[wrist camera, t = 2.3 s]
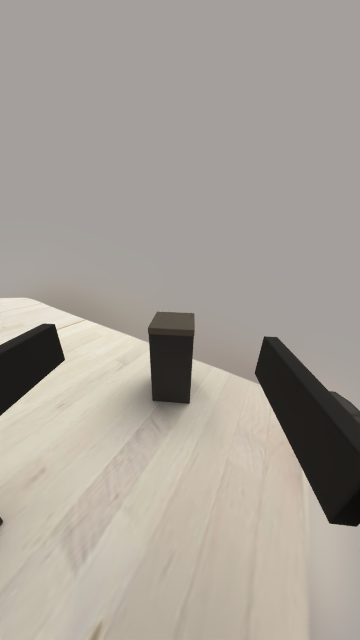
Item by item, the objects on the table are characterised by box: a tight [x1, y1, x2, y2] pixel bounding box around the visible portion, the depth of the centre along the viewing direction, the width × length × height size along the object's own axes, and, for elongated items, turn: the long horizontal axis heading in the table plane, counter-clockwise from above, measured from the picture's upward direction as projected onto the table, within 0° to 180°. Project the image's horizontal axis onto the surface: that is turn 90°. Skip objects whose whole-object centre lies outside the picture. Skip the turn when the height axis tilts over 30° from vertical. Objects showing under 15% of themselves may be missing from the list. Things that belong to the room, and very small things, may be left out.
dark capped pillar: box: [148, 312, 194, 403], centre depth 23 cm, size 5×5×11 cm
